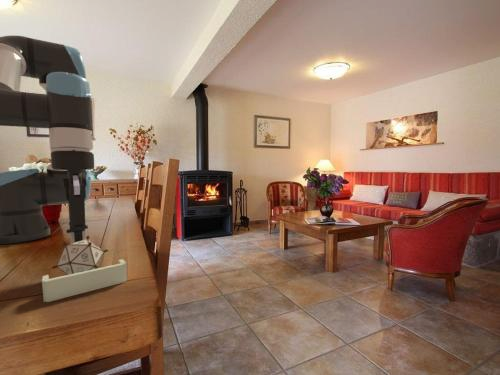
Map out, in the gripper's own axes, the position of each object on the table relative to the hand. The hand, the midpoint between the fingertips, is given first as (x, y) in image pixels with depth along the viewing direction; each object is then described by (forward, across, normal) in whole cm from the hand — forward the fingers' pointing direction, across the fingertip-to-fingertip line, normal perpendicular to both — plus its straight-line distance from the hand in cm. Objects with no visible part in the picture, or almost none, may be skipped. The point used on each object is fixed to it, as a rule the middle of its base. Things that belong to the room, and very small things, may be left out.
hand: (79, 260), depth 56 cm
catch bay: (+2, -11, -1) cm, 11 cm away
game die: (+3, -4, 0) cm, 5 cm away
